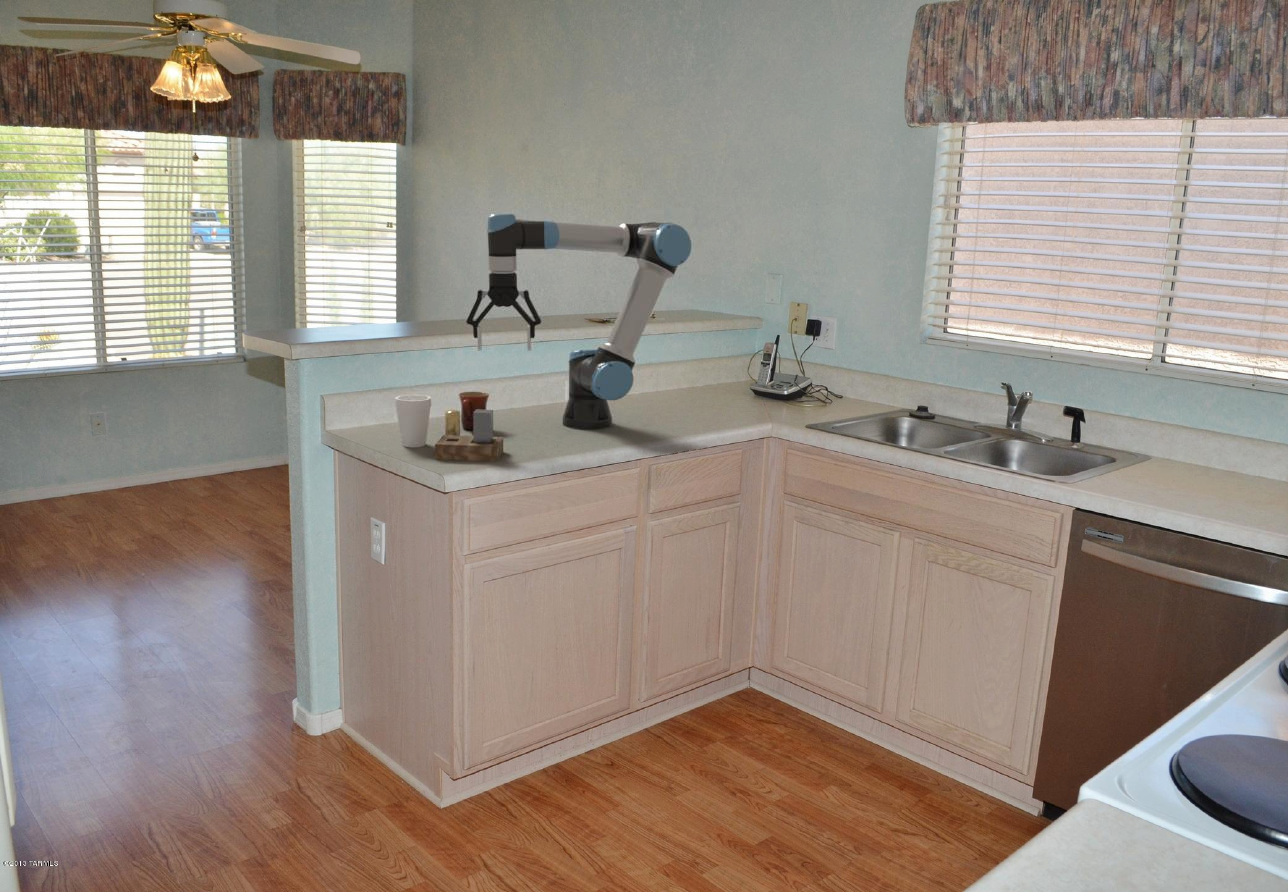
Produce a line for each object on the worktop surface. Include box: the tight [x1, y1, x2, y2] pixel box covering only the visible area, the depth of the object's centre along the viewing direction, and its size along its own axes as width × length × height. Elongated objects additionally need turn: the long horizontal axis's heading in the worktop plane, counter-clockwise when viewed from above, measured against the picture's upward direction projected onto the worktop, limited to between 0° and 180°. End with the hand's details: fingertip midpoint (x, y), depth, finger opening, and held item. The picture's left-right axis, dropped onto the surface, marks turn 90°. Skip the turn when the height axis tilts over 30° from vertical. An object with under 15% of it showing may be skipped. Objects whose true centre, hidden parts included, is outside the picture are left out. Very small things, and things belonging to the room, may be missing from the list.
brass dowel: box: [444, 409, 461, 436], centre depth 284 cm, size 4×4×9 cm
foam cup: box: [394, 394, 432, 448], centre depth 281 cm, size 10×9×13 cm
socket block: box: [434, 434, 504, 462], centre depth 272 cm, size 16×11×4 cm
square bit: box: [472, 409, 494, 444], centre depth 271 cm, size 4×4×12 cm
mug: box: [458, 391, 490, 431], centre depth 302 cm, size 12×9×10 cm
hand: (504, 350), depth 285 cm, fingers open, 13 cm apart
